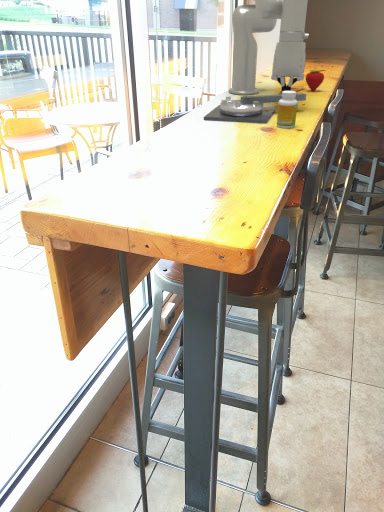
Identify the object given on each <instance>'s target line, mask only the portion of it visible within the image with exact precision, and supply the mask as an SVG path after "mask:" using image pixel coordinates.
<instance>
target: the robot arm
mask: <svg viewBox="0 0 384 512" xmlns="http://www.w3.org/2000/svg"><path fill="white" fill-rule="evenodd" d="M308 1H309V0H254V2H255V4H242V5H238V6H236V7H235V8H234V10H233V12H232V16H231V22H232V32H233V33H232V34H233V56H232V57H233V58H232V59H233V63H232V87H231V88H229V89H228V93H229V94H233V95H239V96H249V95H255V94H258V93H259V88H256V78H257V61H258V43H257V42H258V41H257V40H256V39H255V36H254V35H253V34H256V33H258V34H259V33H270V32H272V31H273V30H274V29H275V27H276V26H277V20H280V27H279V39H278V42H276V44H275V49H274V54H273V62H272V69H271V70H272V73H271V77H270V79H271V80H273V81H276V82H278V84H279V85H280V86H281V91H280V94H282V91H292V86H293V85H295V83H297V82H301V81H304V79H305V76H304V73H305V68H306V55H307V53H306V52H307V49H306V48H307V47H306V42H304V40H306V39H309V33H306V32H305V29H306V28H305V27H306V18H307V17H306V16H307V12H308V11H307V9H308ZM286 77H287V78H289V79H288V83H286Z"/></svg>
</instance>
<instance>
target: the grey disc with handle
mask: <svg viewBox="0 0 384 512" xmlns="http://www.w3.org/2000/svg"><path fill="white" fill-rule="evenodd" d="M281 99H282V94H281V93H279V94H265V95H263V94H261V95H241V96H240V99H232V96H225V99H221V102H220V103H219V105H220V112H221V113H223V114H226V115H232V116H251V115H258V114H261V113H262V112H263V107H264V104H271V103H279V100H281ZM295 99H296V100H297V102H304V101H306V100H307V94H306V93H304V92H296V97H295Z"/></svg>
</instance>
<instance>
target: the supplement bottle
mask: <svg viewBox="0 0 384 512" xmlns="http://www.w3.org/2000/svg"><path fill="white" fill-rule="evenodd" d="M296 93H297V92H296V91H294V90H291V91H282V99H281V100H279V102H278V103H277V104H278V105H277V117H276V127H277V128H280V129H293V128H295V126H296V119H297V112H298V103H299V101H297V100H296V99H295V97H296Z"/></svg>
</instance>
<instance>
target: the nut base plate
mask: <svg viewBox="0 0 384 512" xmlns="http://www.w3.org/2000/svg"><path fill="white" fill-rule="evenodd" d="M276 109H277V108H276V107H275V106H263V112H262V113H261V114H258V115H251V116H232V115H226V114H223V113H221V112H220V104H219V105H217V106H216V107H214V108H213V109H212V110H211V111H209V112H208V113H207V114H206V115H205V116H203V121H212V122H213V121H215V122H216V121H217V122H230V123H231V122H232V123H247V124H268V122H269V120H270V119H271V118H272V116H273V115H274V114H275V112H276Z"/></svg>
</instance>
